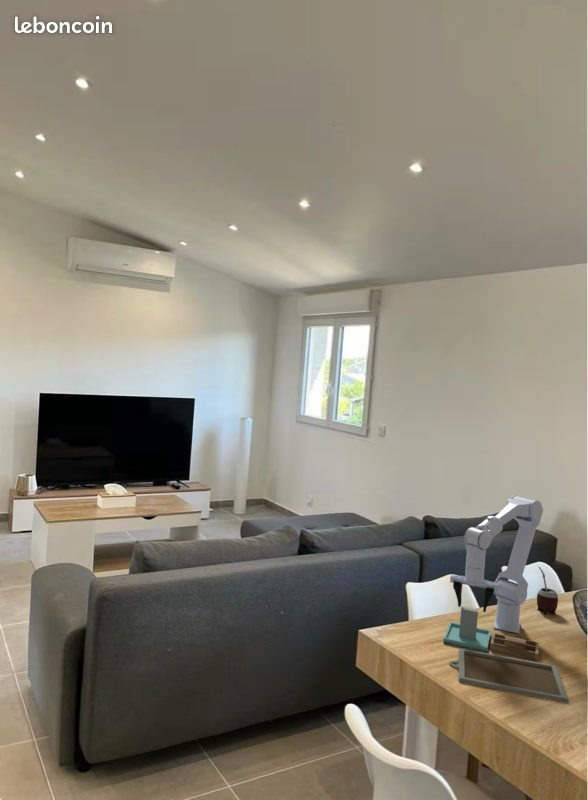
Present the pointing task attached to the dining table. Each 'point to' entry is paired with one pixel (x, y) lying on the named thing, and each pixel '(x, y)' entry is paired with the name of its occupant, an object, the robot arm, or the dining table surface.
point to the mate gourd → (547, 599)
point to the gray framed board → (510, 674)
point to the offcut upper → (515, 642)
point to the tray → (478, 644)
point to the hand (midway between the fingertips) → (471, 608)
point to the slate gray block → (468, 623)
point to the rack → (499, 646)
